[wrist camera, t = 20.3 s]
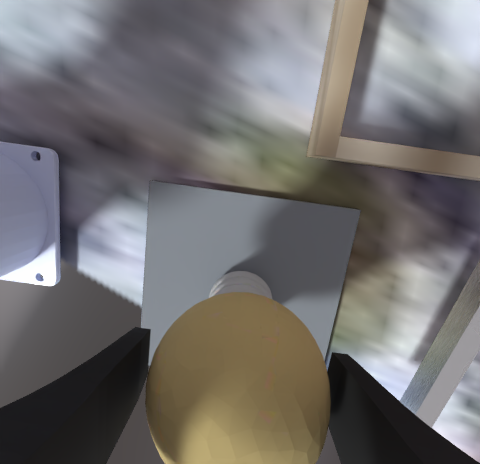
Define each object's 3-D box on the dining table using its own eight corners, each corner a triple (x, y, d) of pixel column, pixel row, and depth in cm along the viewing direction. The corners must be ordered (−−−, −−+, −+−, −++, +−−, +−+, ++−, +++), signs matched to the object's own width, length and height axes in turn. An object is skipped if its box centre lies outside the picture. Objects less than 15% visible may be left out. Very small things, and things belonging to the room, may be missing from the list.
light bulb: (276, 231, 16) (328, 335, 6) (304, 325, 17) (385, 535, 7) (173, 263, 16) (67, 405, 6) (209, 352, 18) (165, 580, 8)
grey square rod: (414, 413, 16) (435, 443, 14) (386, 405, 16) (404, 434, 14) (561, 162, 13) (612, 161, 11) (528, 149, 13) (574, 146, 11)
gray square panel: (141, 358, 18) (138, 364, 18) (152, 180, 16) (149, 180, 15) (316, 381, 19) (318, 387, 18) (357, 209, 16) (360, 210, 15)
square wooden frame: (306, 156, 15) (315, 154, 13) (351, -85, 13) (370, -131, 11) (497, 183, 15) (534, 185, 13) (579, -50, 13) (638, -88, 11)
